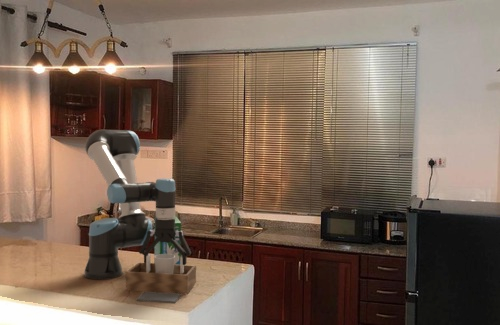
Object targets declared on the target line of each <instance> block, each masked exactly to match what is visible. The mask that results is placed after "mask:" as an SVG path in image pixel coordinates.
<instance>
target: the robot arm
mask: <svg viewBox="0 0 500 325" xmlns="http://www.w3.org/2000/svg"><path fill="white" fill-rule="evenodd" d="M140 147H141V142H140V139H139V136H138V134H136V132H134V131H132V130H127V129H123V130H122V129H121V130H120V129H104V128H103V129H98V130H95V131H93V132H92V133H91V134H89V136H88V138H87V139H86V140H85V147H84V148H85V152H86V154H87V156H88V158H90V160H93V161H94V163H95V165H96V167H97V168H98V170H99V173H100V174H101V175H102V177H103V179H104V180H105V181H104V182H105V183H106V184H107V186H108V187H107V189H106V196H107V200H108V202H109V203H111V204H119V205H120V211H121V214H120V215H119V216H118V218H116V217H106V218H101V219H97V220H94V221H93V222H91V223H90V224H89V232H88V238H89V240H88V244H89V245H88V259H87V261H86V266H85V268H84V277H85V278H87V279H89V280H109V279H115V278H117V277H120V276H121V275H122V274H123V268H122V263H121V261H120V257H119V249H123V248H130V247H131V248H132V247H139V246H141V247H140V249H139V252H138V254H140V255H143V263H146V273H148V272H149V271H150V263H151V254H150V252H152V250H153V249H154V247H155V245H156V244H157V243H158V242H159V241H160V242H166V243H169V242H171V243H172V244H173V245H174V246H175V248H176V249H177V250H178V251H179V253H180V254H181V257H180V274H183V273H184V265H187V257H188V256H190V255H191V254H192V251H191V248H190V247H189V244H188V242H187V241H186V239H185V238H186V237H185V234H184V231H183V230H182V229H181V231H178V232H176V231H175V219H174V217H175V215H176V181H175V180H174V178H157V179H156V180H155V182H154V181H146V182H138V181H137V175H136V174H137V173H136V166H135V159H137V155H138V154H139V153H140ZM142 202H155V216H156V218H157V219H156V230H155V229H154V230H153V222H152V220H151V219H150V218H148V217H146V216H147V215H146V213H145V212H144V211H142V208H141V203H142ZM175 235H177V236H178V237H179V239H180V241H181V246H180V244H179V243H178V242H177V240H176V239H175V238H174V237H175ZM153 236H154V237H155V236H156V237H157V238H156V239H155V238H154V241H153V242H152V243H151V244H150V245H149V243H150V241H151V239H152V237H153ZM148 245H149V246H148ZM147 246H148V247H147ZM146 248H147V249H146Z"/></svg>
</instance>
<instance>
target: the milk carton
mask: <svg viewBox="0 0 500 325" xmlns="http://www.w3.org/2000/svg"><path fill="white" fill-rule="evenodd" d="M156 219H157V218H156V215H154V231H155V230H156ZM174 219H175V231H176V232H178V231H181V230H182V222H181V221H180V220H179V218H178V217H177V215H176V214H175V217H174ZM156 238H157V237H156V236H155V235H154V240H155V239H156ZM174 238H175V239H176V240H177V242H178V243H179V244H180V246H181V247H182V243H181V241H180V239H179V237H178V236H177V235H175V237H174ZM153 249H154V254H153V255H154V256H153V259H154V262H153V263H155V256H156V255H159V254H172V255H175V263H174V264H177V265H180V257H181V256H182V255H181V254H180V253H179V251H178V250H177V249H176V248H175V246H174V245H173V244H172V243H171V242H169V243H166V242H160V241H159V242H158V243H157V244H156V245H155V246H154V248H153Z"/></svg>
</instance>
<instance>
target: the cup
mask: <svg viewBox="0 0 500 325" xmlns="http://www.w3.org/2000/svg"><path fill="white" fill-rule="evenodd" d="M174 263H175V255H172V254H159V255H156V256H155V269H156V273H165V274H173V272H174Z"/></svg>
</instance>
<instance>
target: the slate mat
mask: <svg viewBox="0 0 500 325" xmlns="http://www.w3.org/2000/svg"><path fill="white" fill-rule="evenodd" d="M181 296H182V294H180V293H162V292H145V291H143V292H142V293H141V294H140V295H139V296H138V297H137V298H136V302H152V303H153V302H154V303H167V304H168V303H169V304H175V303H176V302H177V301H178V300H179V299H180V298H181Z"/></svg>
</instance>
